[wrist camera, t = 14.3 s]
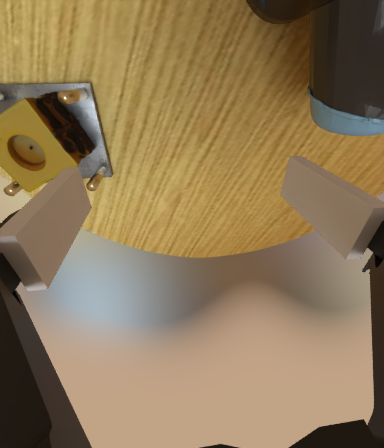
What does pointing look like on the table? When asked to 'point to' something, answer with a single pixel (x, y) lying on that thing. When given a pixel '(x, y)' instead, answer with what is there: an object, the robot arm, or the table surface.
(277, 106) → the table surface
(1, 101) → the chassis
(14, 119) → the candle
